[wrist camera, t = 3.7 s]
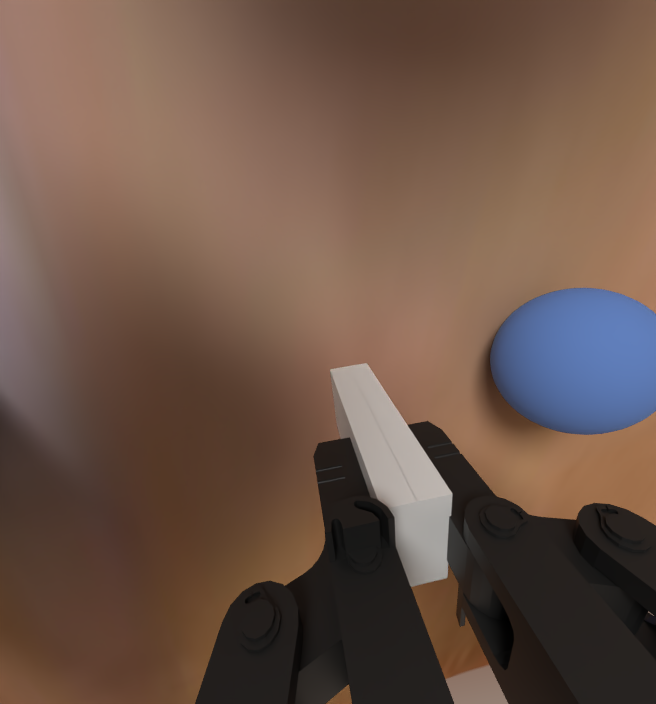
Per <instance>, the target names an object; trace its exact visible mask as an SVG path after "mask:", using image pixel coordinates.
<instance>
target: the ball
mask: <svg viewBox="0 0 656 704" xmlns="http://www.w3.org/2000/svg"><path fill="white" fill-rule="evenodd" d="M490 365H491V372H492V376H493V379H494V382H495V384H496V386H497V388H498V390H499V392H500V393H501V395H502V396H503V398H504V399H505V400H506V401H507V402H508V403H509V404H510V405H511V406H512V407H513V408H514V409H515V410H516V411H517V412H518V413H520V414H521V415H523V416H524V417H526V418H527V419H529V420H530V421H532V422H535V423H537V424H539V425H541V426H543V427H546V428H549V429H552V430H556V431H560V432H565V433H571V434H584V435H589V434H603V433H609V432H613V431H617V430H621V429H624V428H627V427H629V426H632V425H634V424H636V423H638V422H640V421H642V420H644V419H645V418H647V417H648V416H650V415H651V414H652V413H654V412H655V411H656V314H655V313H654V312H653V311H652V310H650V309H649V308H648V307H646V306H645V305H643V304H641V303H640V302H638V301H636V300H634V299H632V298H629V297H627V296H625V295H622V294H619V293H615V292H612V291H607V290H602V289H594V288H572V289H564V290H558V291H554V292H550V293H547V294H544V295H542V296H539V297H536V298H534V299H532V300H530V301H529V302H527V303H525V304H524V305H522V306H520V307H519V308H518V309H517V310H515V311H514V312H513V313H512V314H511V315H510V316H509V317H508V318H507V319H506V320H505V321H504V323H503V324H502V325H501V327H500V328H499V330H498V332H497V334H496V336H495V338H494V341H493V344H492V347H491V353H490Z"/></svg>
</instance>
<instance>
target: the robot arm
mask: <svg viewBox="0 0 656 704" xmlns="http://www.w3.org/2000/svg"><path fill="white" fill-rule="evenodd" d="M330 374H331V382H332V390H333V398H334V406H335V414H336V422H337V428H338V431H339V435H340V438H341V439H338V440H333V441H328V442H323V443H318V446H317V448H316V451H315V454H314V462H315V469H316V475H317V481H318V488H319V494H320V501H321V507H322V513H323V520H324V526H325V545H324V549H323V551H322V553H321V555H320V557H319V559H318V560H317V562H316V563H315V564H314V565H313V567H312V568H310V569H309V570H308V571H307V572H305V573H304V574H303V575H301V576H300V577H298V578H297V579H295V580H293V581H292V582H290V583H289V584H287V585H285V586H284V585H283V584H280V583H276V582H272V581H267V582H261V583H256V584H254V585H253V586H251V587H250V588H248V589H246V590H245V591H243V592H242V593H241V594H240V595H239V596H238V597H237V598H236V600H235V601H234V602H233V603H232V604H231V605H230V607H229V609H228V611H227V613H226V615H225V618H224V620H223V622H222V624H221V627H220V630H219V633H218V636H217V639H216V642H215V645H214V648H213V651H212V654H211V657H210V660H209V663H208V666H207V669H206V672H205V675H204V678H203V682H202V685H201V688H200V691H199V694H198V697H197V700H196V703H195V704H326V703H327V702H328V701H329V700H330V699H332V698H333V697H334V696H335V695H336V694H337V693H339V692H340V691H341V690H342V689H343V688H344V687H346V686H347V685H348V684H349V687H350V693H351V699H352V704H454V702H453V699H452V696H451V694H450V691H449V688H448V686H447V683H446V680H445V678H444V675H443V672H442V669H441V667H440V664H439V661H438V659H437V656H436V653H435V651H434V648H433V645H432V643H431V640H430V637H429V635H428V632H427V629H426V627H425V624H424V621H423V619H422V616H421V613H420V610H419V608H418V605H417V602H416V600H415V597H414V594H413V592H412V589H411V587H412V586H417V585H421V584H425V583H429V582H433V581H437V580H441V579H445V578H447V576H448V563H449V565H450V567H451V569H452V571H453V573H454V575H455V577H456V579H457V581H458V583H459V587H458V599H457V612H456V615H457V618H458V622H459V625H460V627H461V626H464V625H465V616H466V617H467V619H468V621H469V623H470V625H471V627H472V629H473V631H474V633H475V635H476V637H477V639H478V642H479V644H480V646H481V648H482V650H483V652H484V654H485V656H486V658H487V660H488V662H489V664H490V666H491V668H492V671H493V673H494V674H495V677H496V679H497V681H498V683H499V685H500V687H501V689H502V691H503V693H504V695H505V698H506V699H507V702H508V703H509V704H656V526H655V525H654V524H652V523H651V522H649V521H647V520H646V519H644V518H642V517H640V516H638V515H636V514H634V513H632V512H631V511H629V510H627V509H624V508H620V507H617V506H614V505H610V504H600V503H593V504H590V505H586V506H584V507H583V508H582V509H581V510H580V512H579V513H578V516H577V519H576V520H570V519H558V518H546V517H538V516H532V515H528V514H527V513H526V512H525V511H524V510H523V509H522V508H520V507H519V506H518V505H516V504H514V503H512V502H510V501H508V500H506V499H503V498H499V497H497V496H496V495H495V494H494V493H493V492H492V491H491V490H490V488H489V487H488V486H487V485H486V483H485V482H484V481H483V480H482V478H481V477H480V476H479V475H478V474H477V472H476V471H475V470H474V469H473V467H472V466H471V465H470V464H469V463H468V461H467V460H466V459H465V458H464V456H463V455H462V454H460V452H459V450H458V449H457V448H456V447H455V445H454V444H452V442H451V440H450V439H449V438H448V437H447V435H446V434H445V433H444V432H443V431H442V430H441V429H440V428H438V427H437V426H435V425H433V424H432V423H430V422H428V421H425V422H420V423H415V424H410V425H407V424H406V422H405V421H404V419H403V418H402V416H401V415H400V413H399V412H398V410H397V409H396V407H395V406H394V404H393V402H392V401H391V399H390V398H389V396H388V395H387V393H386V392H385V390H384V389H383V387H382V386H381V384H380V383H379V381H378V380H377V378H376V377H375V375H374V374H373V372H372V370H371V369H370V367H369V366H368V364H367V363H364V364H358V365H353V366H347V367H341V368H335V369H330ZM648 611H649V612H650V613H652V614H653V615H654V616H653V615H651V614H650V613H648Z"/></svg>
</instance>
